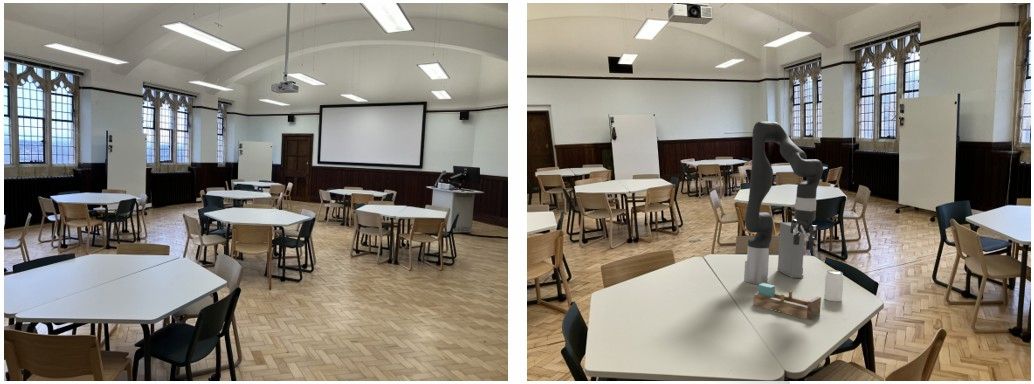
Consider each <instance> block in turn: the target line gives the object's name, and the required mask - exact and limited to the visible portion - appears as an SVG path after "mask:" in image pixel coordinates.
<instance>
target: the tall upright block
mask: <svg viewBox="0 0 1034 384" xmlns="http://www.w3.org/2000/svg"><path fill="white" fill-rule="evenodd" d="M779 225H780V226H779V239H778V240H779V242H778V243H779V244H778V257H777V259H778V260H777V267H776V268H777V272H781V273H783V274H784V275H786V276H787V277H789V278H791V279H793V278H794V279H795V278H796V279H797V278H798V279H799V278H800V279H802V278H804V275H803V273H804V266H803V265H804V251H805V250H804V249H805V236H804V234H803V233H801V234H800V235H799V236H800V240H799V245H794V244H793V238H794V236H793V234H792V233H790V229H791V221H790V222H781V221H780V224H779ZM794 229H795V228H793V230H794Z"/></svg>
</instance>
